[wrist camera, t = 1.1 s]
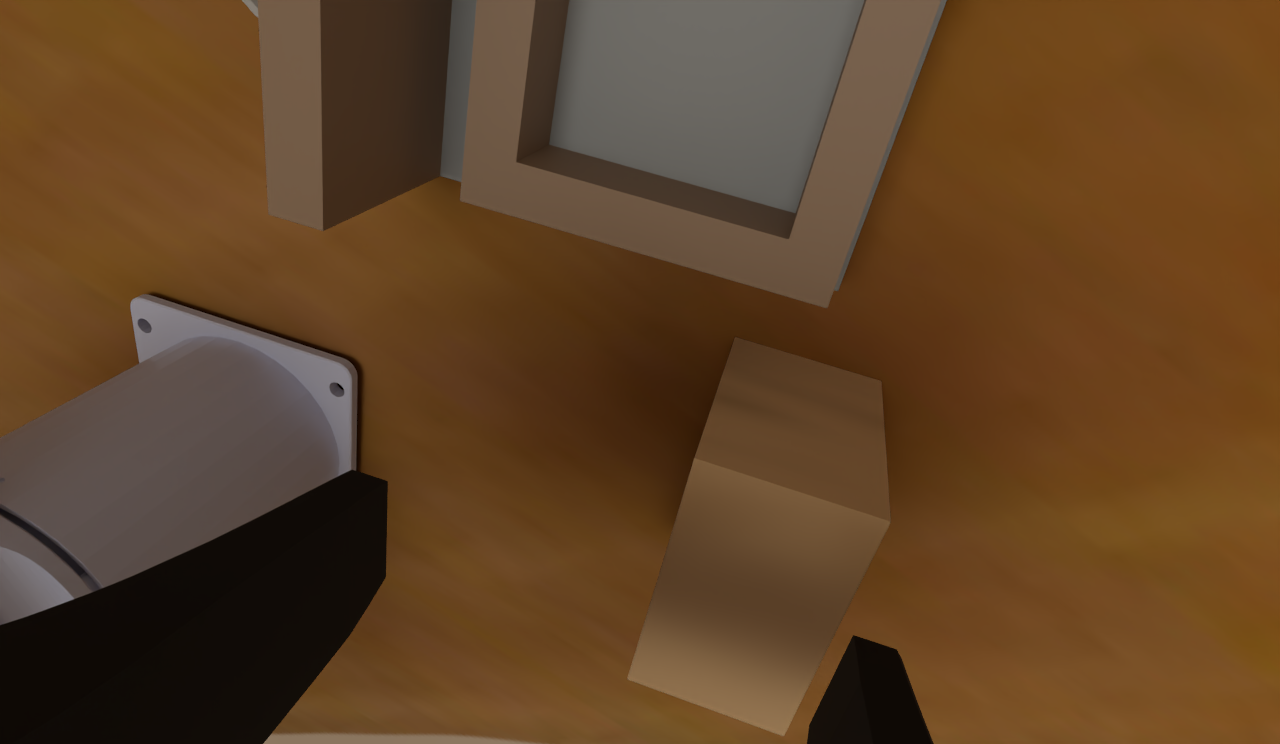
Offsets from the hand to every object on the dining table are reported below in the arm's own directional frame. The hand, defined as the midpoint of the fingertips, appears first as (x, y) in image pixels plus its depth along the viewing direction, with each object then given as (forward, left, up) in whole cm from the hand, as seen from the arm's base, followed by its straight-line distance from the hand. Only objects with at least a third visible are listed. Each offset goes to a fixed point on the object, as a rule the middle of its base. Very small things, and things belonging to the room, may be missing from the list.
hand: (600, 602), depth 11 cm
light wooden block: (-4, -3, -10) cm, 11 cm away
